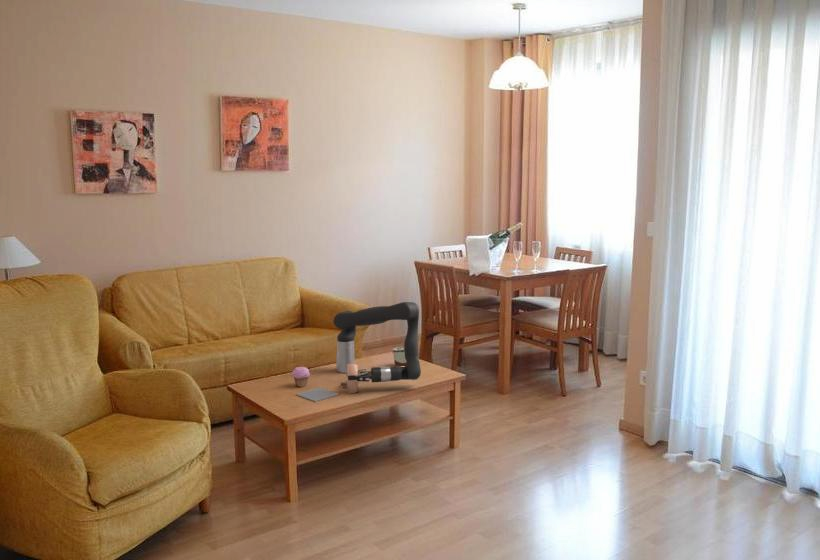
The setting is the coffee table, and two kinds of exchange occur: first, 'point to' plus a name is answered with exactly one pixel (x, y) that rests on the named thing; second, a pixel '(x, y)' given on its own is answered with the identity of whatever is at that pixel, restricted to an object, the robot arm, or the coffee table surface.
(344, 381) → the walnut block
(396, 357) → the food container
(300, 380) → the cupcake
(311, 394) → the charcoal mat
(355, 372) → the terracotta canister
